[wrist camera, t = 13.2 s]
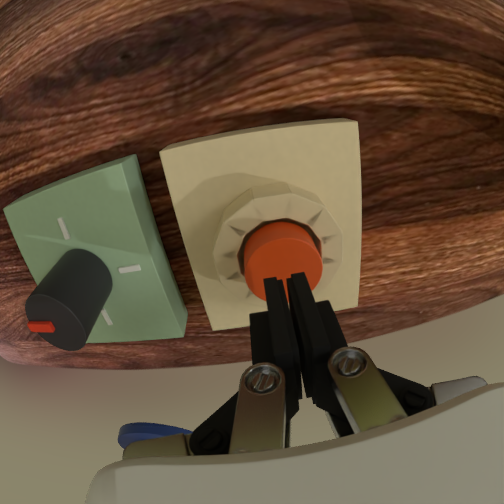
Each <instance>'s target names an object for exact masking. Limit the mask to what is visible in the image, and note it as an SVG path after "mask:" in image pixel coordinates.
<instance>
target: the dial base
mask: <svg viewBox="0 0 504 504" xmlns="http://www.w3.org/2000/svg"><path fill="white" fill-rule="evenodd" d="M3 210H4V213H5V216H6V218H7V221H8V223H9V226H10V228H11V231H12V233H13V236H14V238H15V240H16V242H17V245H18V247H19V249H20V251H21V253H22V256H23V258H24V260H25V262H26V264H27V266H28V268H29V270H30V272H31V274H32V276H33V278H34V280H35V282H36V283H37V285H39V283H40V282H41V281H42V280H43V278H44V277H45V276H46V275H47V273H48V272H49V271H50V270H51V269H52V267H53V266H54V265H55V264H56V263H57V262H58V260H59V259H60V258H61V257H62V256H63V255H64V254H65V253H66V252H67V251H69V250H72V249H84V250H87V251H89V252H91V253H93V254H95V255H96V256H97V257H99V258H100V259H101V260H102V261H103V262H104V264H105V265H106V266H107V268H108V269H109V271H110V274H111V277H112V282H113V286H112V291H111V293H110V295H109V297H108V299H107V301H106V303H105V305H104V307H103V309H102V311H101V313H100V315H99V317H98V319H97V321H96V323H95V325H94V327H93V329H92V331H91V333H90V335H89V337H88V339H87V341H86V343H104V342H125V341H141V340H155V339H167V338H178V337H184V333H185V328H186V322H187V317H188V312H187V309H186V307H185V304H184V302H183V299H182V296H181V294H180V291H179V288H178V286H177V283H176V280H175V277H174V275H173V272H172V269H171V266H170V263H169V261H168V258H167V255H166V252H165V249H164V246H163V243H162V240H161V237H160V234H159V231H158V228H157V225H156V221H155V218H154V215H153V212H152V208H151V205H150V202H149V198H148V195H147V192H146V188H145V185H144V181H143V177H142V174H141V170H140V166H139V163H138V159H137V155H136V154H133V155H130V156H127V157H124V158H120V159H117V160H114V161H111V162H108V163H105V164H102V165H99V166H96V167H93V168H90V169H87V170H84V171H82V172H79V173H76V174H74V175H71V176H68V177H66V178H63V179H61V180H58V181H56V182H53V183H51V184H48V185H46V186H44V187H41V188H39V189H37V190H34V191H32V192H30V193H28V194H25V195H23V196H22V197H20V198H18V199H17V200H15V201H14V202H12V203H11V204H9V205H8V206H6V207H5V208H4V209H3Z"/></svg>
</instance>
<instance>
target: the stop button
mask: <svg viewBox="0 0 504 504" xmlns="http://www.w3.org/2000/svg"><path fill="white" fill-rule="evenodd" d="M322 271H323V264H322V259H321V257H320V254H319V252H318V250H317V248H316V246H315V244H314V242H313V240H312V238H311V236H310V235H309V234H308V232H307V231H306V230H304V229H303V228H302V227H300V226H298V225H296V224H293V223H289V222H275V223H270V224H268V225H265V226H263V227H261V228H260V229H258V230H257V231H256V232H254V233H253V234H252V236H251V237H250V238H249V240H248V241H247V243H246V246H245V249H244V274H245V281H246V284H247V286H248V288H249V289H250V291H251V292H252V293H253V294H254V295H255V296H257V297H258V298H260V299H262V300H264V301H266V295H265V289H264V282H263V279H265V278H271V277H277V280H280V279H282V280H283V285H284V289H285V293H286V297H287V301H288V303H289V300H288V291H287V282H286V278H291V274H294V273H300V272H305V275H306V277H307V280H308V283H309V285H310V288H311V291H313V290H314V288H315V287H316V286H317V284H318V283H319V281H320V278H321V276H322Z"/></svg>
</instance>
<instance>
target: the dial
mask: <svg viewBox="0 0 504 504" xmlns="http://www.w3.org/2000/svg"><path fill="white" fill-rule="evenodd" d="M112 286H113V282H112V277H111V274H110V271H109V269H108V268H107V266H106V265H105V264H104V262H103V261H102V260H101V259H100V258H99V257H97V256H96V255H95V254H93V253H91V252H89V251H87V250H84V249H72V250H69V251H67V252H66V253H65V254H64V255H63V256H62V257H61V258H60V259H59V260H58V262H57V263H56V264H55V265H54V266H53V267H52V269H51V270H50V271H49V272H48V273H47V275H46V276H45V277H44V278H43V280H42V281H41V282H40V283H39V285H38V286H37V287H36V288H35V290H34V291H33V292H32V293H31V295H30V296H29V297H28V299H27V301H26V304H25V310H26V315H27V318H28V320H29V322H28V324H27V326H28V327H29V329H30V330H31V332H37V333H38V334H39V335H40V336H41V337H42V338H43V339H45V340H46V341H47V342H49V343H50V344H52V345H54V346H56V347H58V348H60V349H63V350H68V351H76V350H79V349H81V348H83V347H84V345H85V344H86V341H87V339H88V337H89V335H90V333H91V331H92V329H93V327H94V325H95V323H96V321H97V319H98V317H99V315H100V313H101V311H102V309H103V307H104V305H105V303H106V301H107V299H108V297H109V295H110V293H111V291H112Z"/></svg>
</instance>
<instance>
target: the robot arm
mask: <svg viewBox="0 0 504 504" xmlns="http://www.w3.org/2000/svg"><path fill="white" fill-rule="evenodd" d="M263 282H264V289H265V295H266V302H267V309H268V311H263V312H256V313H250V314H249V321H250V335H251V350H252V364H253V365H252V366H250V367H249V368H248V369H246V370H245V372H244V373H243V374H242V376H241V379H240V385H239V391H238V392H237V393H236V394H235V395H234V396H233V397H231V398H230V399H229V400H228V401H227V402H226V403H225V404H224V405H223V406H221V407H220V408H219V409H218V410H217V411H216V412H215V413H213V414H212V415H211V416H210V417H209V418H208V419H207V420H205V421H204V422H203V423H202V424H201V425H200V426H199V427H197V428H196V429H195V430H194V431H193V433H189V434H184V433H179V434H174V435H169V436H164V437H158V438H152V439H146V440H140V441H135V442H132V443H130V444H129V445H128V446H126V448H125V450H124V451H123V460H121V461H118V462H115V463H112V464H110V465H107V466H105V467H104V468H102V469H101V470H99V471H98V472H97V474H96V475H95V476H94V478H93V480H92V482H91V484H90V487H89V490H88V493H87V496H86V500H85V504H504V382H503V383H495V384H489V385H488V384H487V382H486V381H485V380H484V379H483V378H481V377H478V376H472V377H466V378H462V379H457V380H452V381H446V382H440V383H435V384H432V385H431V387H425V386H423V385H421V384H418V383H416V382H413V381H410V380H408V379H405V378H402V377H400V376H397V375H394V374H392V373H389V372H387V371H384V370H381V369H379V368H377V367H376V366H375V364H374V363H373V361H372V360H371V358H370V357H369V355H368V354H367V353H366V352H365V351H363V350H362V349H360V348H356V347H348V345H347V343H346V340H345V337H344V335H343V332H342V330H341V328H340V325H339V323H338V320H337V318H336V315H335V313H334V310H333V308H332V306H331V303H330V301H329V300H324V301H319V302H315V299H314V296H313V294H312V291H311V288H310V285H309V283H308V280H307V277H306V275H305V272H300V273H294V274H291V278H286V282H287V291H288V300H289V305H288V301H287V297H286V293H285V289H284V285H283V280H282V279H280V280H277V277H271V278H265V279H263ZM301 374H302V378H303V383H304V388H305V393H306V397H307V398H309V397H312V400H313V404H316V406H317V407H319V408H321V409H323V410H325V413H326V416H327V419H328V421H329V423H330V425H331V428H332V430H333V432H334V434H335V437H336V439H332V440H328V441H323V442H318V443H313V444H308V445H303V446H298V447H291V448H290V444H291V418H292V417H293V416H294V415H295V414H296V413H297V412H298V410H299V402H298V400H299V399H302V384H301Z"/></svg>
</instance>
